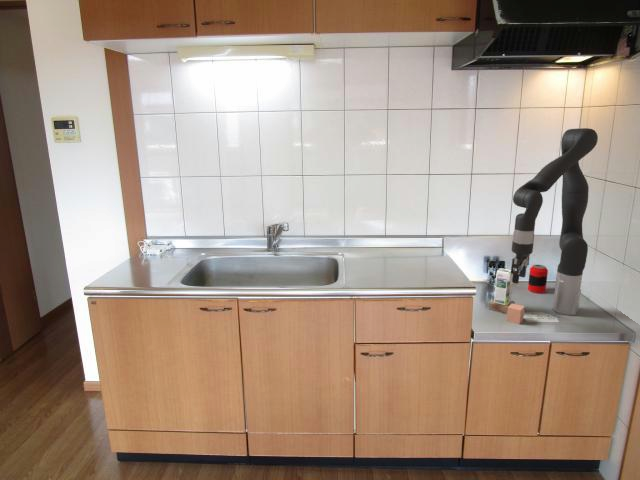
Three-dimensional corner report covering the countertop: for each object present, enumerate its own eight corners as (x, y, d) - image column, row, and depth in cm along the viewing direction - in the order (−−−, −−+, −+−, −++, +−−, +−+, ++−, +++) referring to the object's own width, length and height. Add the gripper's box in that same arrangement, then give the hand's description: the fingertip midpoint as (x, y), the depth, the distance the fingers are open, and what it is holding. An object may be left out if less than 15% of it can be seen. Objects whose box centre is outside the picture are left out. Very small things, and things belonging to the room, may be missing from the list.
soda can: (542, 287, 215) (544, 264, 212) (547, 293, 208) (550, 269, 205) (525, 287, 216) (528, 263, 213) (530, 293, 209) (533, 269, 206)
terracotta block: (523, 319, 183) (524, 306, 181) (519, 324, 179) (520, 310, 177) (510, 316, 186) (511, 303, 184) (506, 320, 182) (507, 307, 180)
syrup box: (493, 303, 192) (496, 271, 188) (497, 298, 196) (500, 267, 192) (507, 306, 188) (510, 273, 184) (511, 301, 193) (514, 269, 189)
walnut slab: (514, 308, 194) (514, 301, 193) (508, 314, 188) (508, 307, 187) (495, 303, 199) (496, 297, 198) (488, 309, 193) (489, 303, 192)
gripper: (518, 235, 181) (514, 273, 185) (506, 243, 170) (502, 282, 175) (538, 238, 176) (534, 276, 181) (527, 246, 166) (522, 287, 170)
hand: (518, 279), depth 178 cm, fingers open, 8 cm apart
